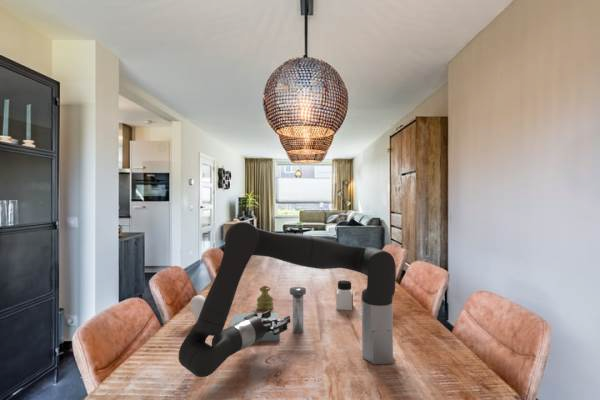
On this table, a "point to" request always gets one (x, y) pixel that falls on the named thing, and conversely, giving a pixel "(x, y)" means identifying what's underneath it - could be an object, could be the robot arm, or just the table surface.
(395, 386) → the table surface
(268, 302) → the brass weight
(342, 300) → the medicine bottle
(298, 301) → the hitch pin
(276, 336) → the socket board
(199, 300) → the lightbulb
